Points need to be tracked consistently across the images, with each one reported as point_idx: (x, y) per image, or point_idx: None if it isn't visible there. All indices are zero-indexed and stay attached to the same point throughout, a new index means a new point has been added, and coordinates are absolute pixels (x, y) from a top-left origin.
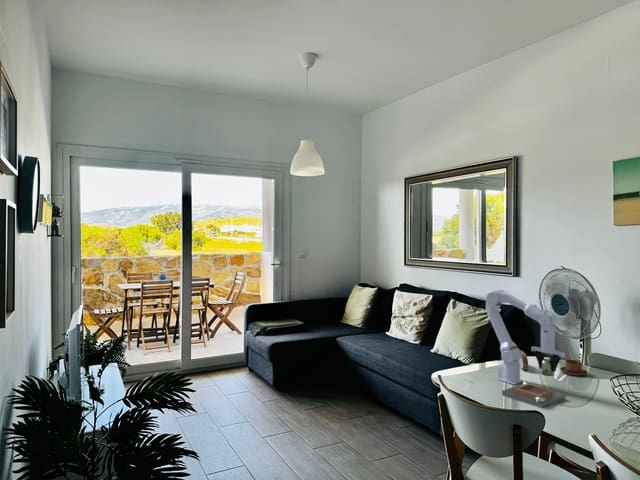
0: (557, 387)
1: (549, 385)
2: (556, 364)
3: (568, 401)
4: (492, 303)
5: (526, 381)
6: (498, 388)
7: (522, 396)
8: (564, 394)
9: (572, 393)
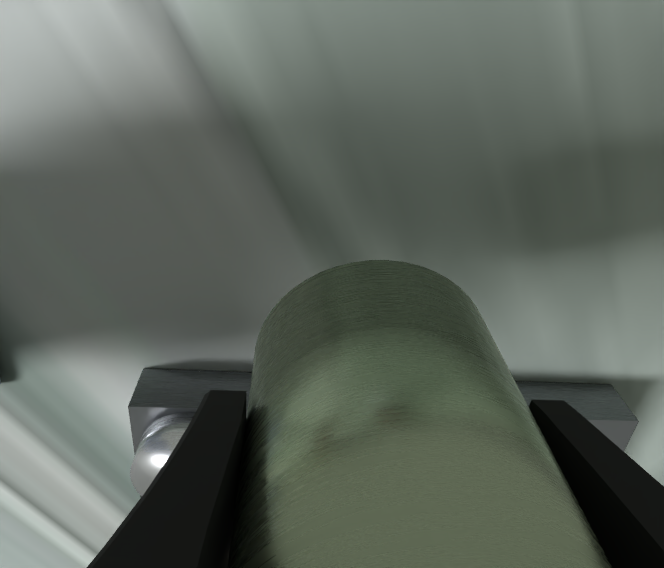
0: (410, 5)
1: (275, 7)
2: None
3: (644, 409)
4: None
5: (151, 454)
6: (29, 558)
7: None
8: (628, 423)
9: (657, 119)
